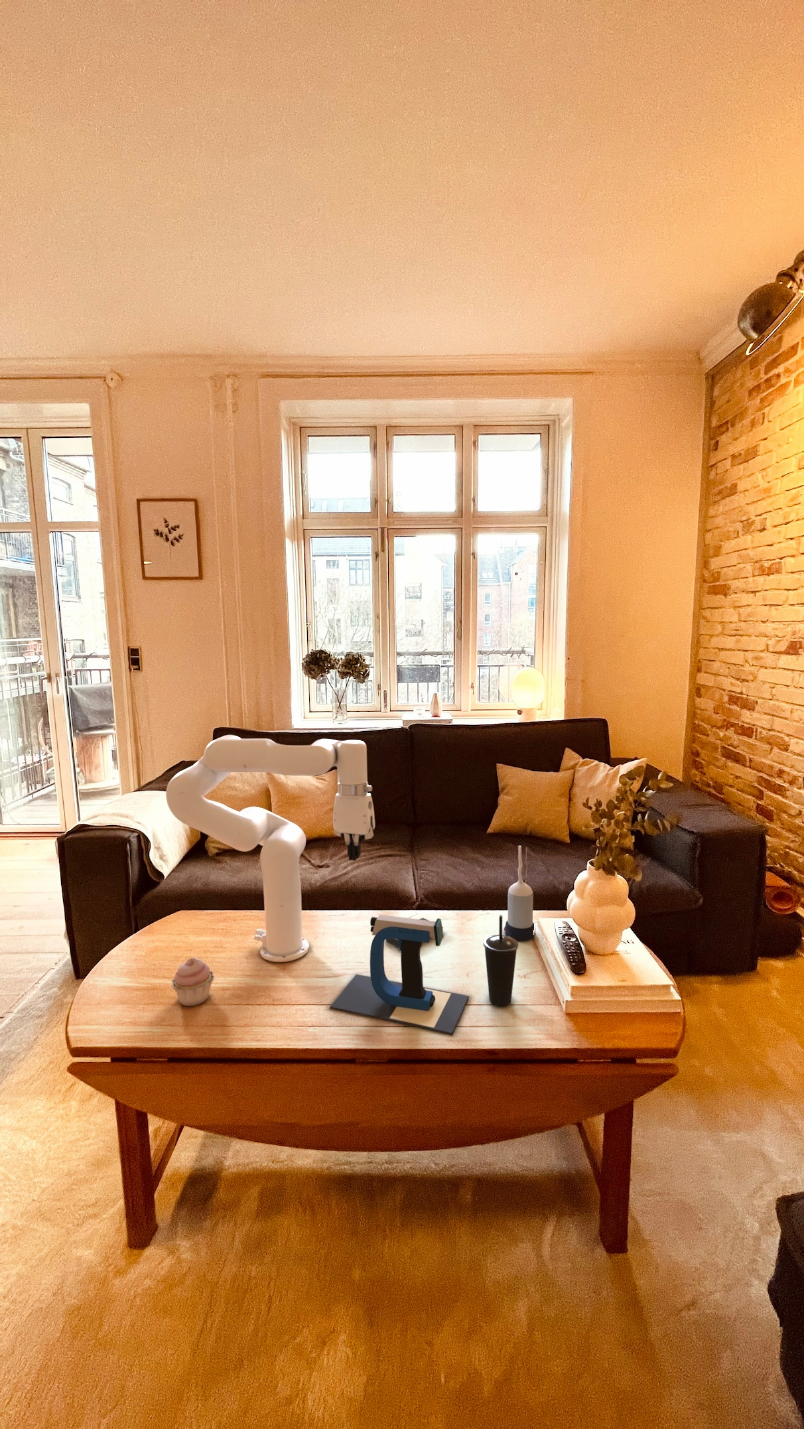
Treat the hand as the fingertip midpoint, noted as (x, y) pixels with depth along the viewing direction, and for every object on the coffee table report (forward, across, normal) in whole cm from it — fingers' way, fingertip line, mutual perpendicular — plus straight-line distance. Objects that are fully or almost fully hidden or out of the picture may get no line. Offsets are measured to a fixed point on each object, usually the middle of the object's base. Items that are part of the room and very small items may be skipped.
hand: (354, 858), depth 155 cm
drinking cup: (+25, -40, +10) cm, 48 cm away
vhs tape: (+25, -12, -12) cm, 30 cm away
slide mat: (+25, -19, +18) cm, 36 cm away
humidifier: (+25, -39, -23) cm, 52 cm away
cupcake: (+25, +26, +32) cm, 48 cm away
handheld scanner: (+25, -21, +18) cm, 37 cm away
